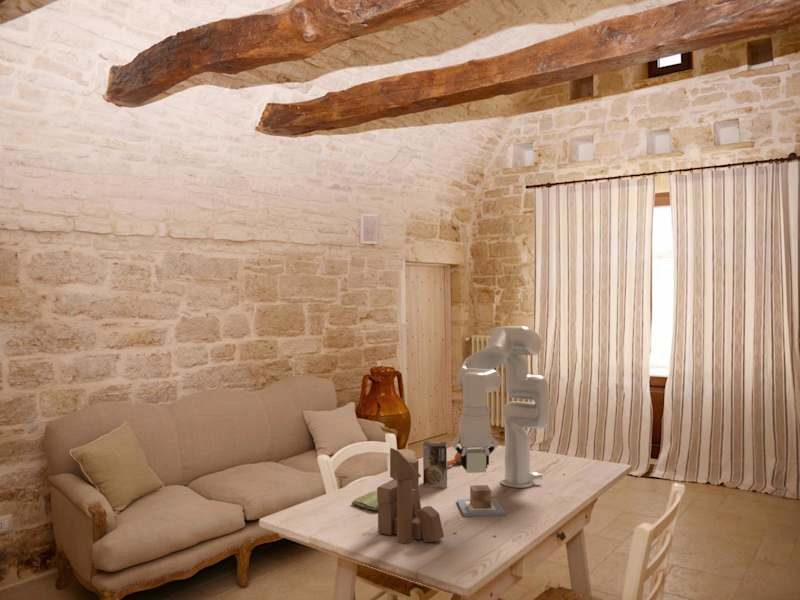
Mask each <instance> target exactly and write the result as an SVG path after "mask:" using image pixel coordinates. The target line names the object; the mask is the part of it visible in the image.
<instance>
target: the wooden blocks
mask: <svg viewBox="0 0 800 600" xmlns="http://www.w3.org/2000/svg"><path fill="white" fill-rule="evenodd" d="M389 450H390V451H389V470H390V471H389V477H390V478H392V479H391V480H389V481H387V482H385V483H383V484H381V485H379V486H377V487H376V490H377V502H378V511H377V513H378V514H377V532H378V533H379V534H383V535H388V536H392V535H393V534H394V535H396V540H397V542H399V543H400V544H401V543H402V544H408V543H411V542H412V541H413V539H418V540H422V539H423V542H424V543H437V542H438V541H440V540H441V539H443V538H444V537H445V534H444V529H443V525H442V520H441V516H440V513H439V512H438V511H437V510H436V509H435V508H434V507H433V506H431V505H427V506H424V507H422V505H421V487H419V485H420V484H419V478H421V477H422V474H420V472H419V467H420V466H419V462H420V461H419V459H415V458H409V457H404V455H403V454H402V453H401V452H400V451H399V450H397V449H395V448H392V447H390V449H389Z"/></svg>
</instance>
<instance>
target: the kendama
mask: <svg viewBox="0 0 800 600" xmlns="http://www.w3.org/2000/svg"><path fill="white" fill-rule="evenodd" d="M453 458H454V459H450V460H447V469H448V468H449V467H451V465H453V464H454V463H460V464H461V455H460V454H459V453H458V452H457V451H456V453H455V456H454V457H453Z"/></svg>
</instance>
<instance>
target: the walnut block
mask: <svg viewBox="0 0 800 600" xmlns="http://www.w3.org/2000/svg"><path fill="white" fill-rule="evenodd" d="M469 490H470V491H469V493H470V494H469V496H470V498H469V499H470V503H471V505H472V507H473V508H474V509H481V508H491V499H492V490H491V488H490V487H489V485H488V484H485V485H484V484H481V485H479V484H478V485H477V484H476V485H470V487H469Z"/></svg>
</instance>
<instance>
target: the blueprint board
mask: <svg viewBox="0 0 800 600" xmlns="http://www.w3.org/2000/svg"><path fill="white" fill-rule="evenodd" d="M456 503H457V505H458V508H459V509H460V511H461V514H462V515H463V517H483V516H484V517H486V516H506V510H505V509H504V508H503V507H502V505H501V504H500V502H499V501H498V499H497V498H496V497H495V498H493V497H492V498H491V508H481V509H474V508H473V507H472V505H471V503H470V498H460V499H459V498H458V499H456Z"/></svg>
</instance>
